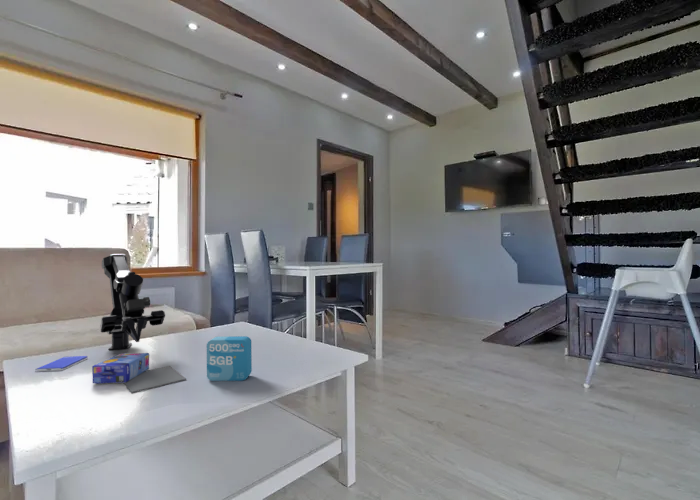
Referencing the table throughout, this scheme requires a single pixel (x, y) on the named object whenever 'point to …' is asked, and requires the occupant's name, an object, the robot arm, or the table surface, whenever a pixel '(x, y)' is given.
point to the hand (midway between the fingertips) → (137, 341)
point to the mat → (154, 379)
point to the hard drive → (62, 363)
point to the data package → (229, 358)
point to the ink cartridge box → (120, 368)
